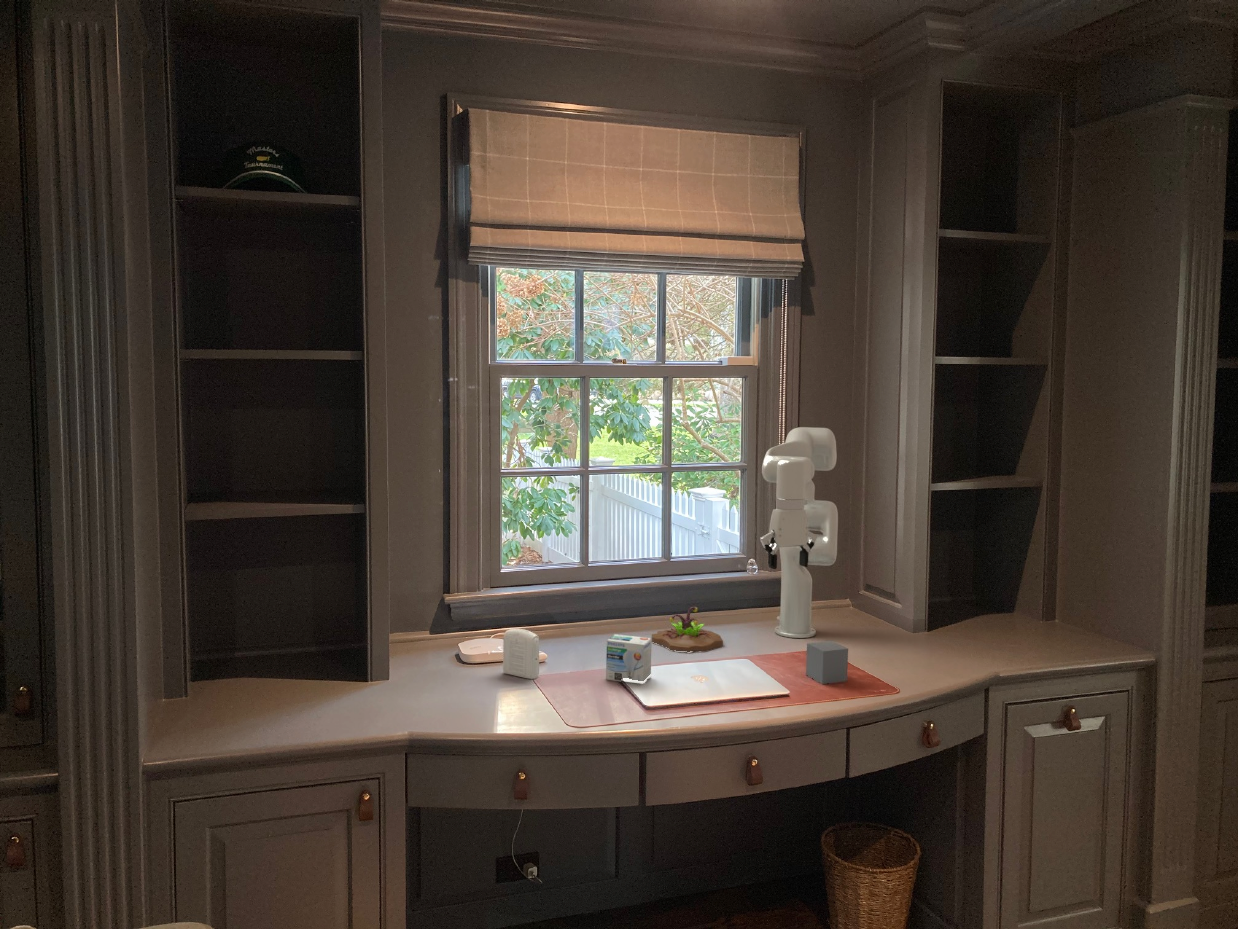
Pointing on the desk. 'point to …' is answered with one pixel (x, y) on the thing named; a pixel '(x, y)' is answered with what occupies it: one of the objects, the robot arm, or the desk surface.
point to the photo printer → (521, 653)
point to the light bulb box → (628, 658)
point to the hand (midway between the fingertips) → (788, 567)
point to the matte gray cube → (827, 662)
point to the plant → (688, 636)
